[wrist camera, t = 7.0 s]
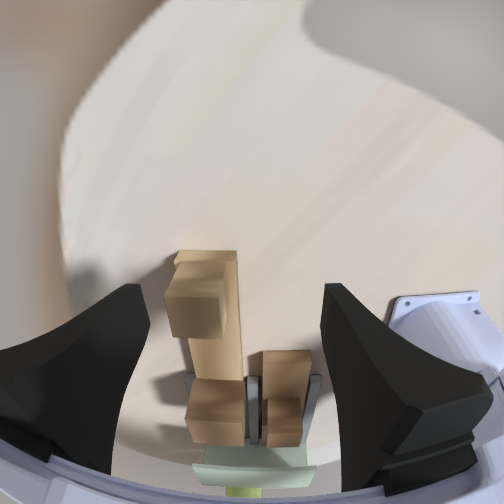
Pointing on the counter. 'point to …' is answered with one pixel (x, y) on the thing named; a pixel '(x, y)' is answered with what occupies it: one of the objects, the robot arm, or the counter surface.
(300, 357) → the block brown
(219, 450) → the shelter
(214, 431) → the cube
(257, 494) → the tube
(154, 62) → the counter surface
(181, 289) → the tan stepped wooden piece
